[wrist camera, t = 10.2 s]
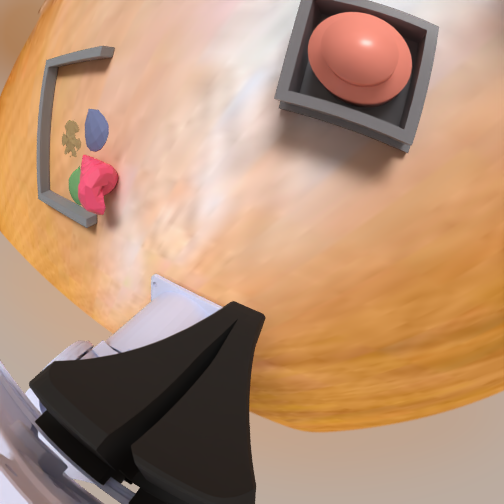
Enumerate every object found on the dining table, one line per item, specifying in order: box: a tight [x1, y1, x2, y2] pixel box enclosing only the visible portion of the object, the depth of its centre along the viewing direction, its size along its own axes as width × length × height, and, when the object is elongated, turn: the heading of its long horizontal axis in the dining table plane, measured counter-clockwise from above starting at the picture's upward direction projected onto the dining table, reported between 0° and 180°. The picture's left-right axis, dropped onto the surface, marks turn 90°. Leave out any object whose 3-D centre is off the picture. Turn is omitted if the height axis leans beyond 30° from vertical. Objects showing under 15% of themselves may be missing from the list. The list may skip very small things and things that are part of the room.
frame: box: [37, 46, 114, 228], centre depth 22 cm, size 18×12×2 cm, turn 166°
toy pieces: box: [62, 109, 118, 215], centre depth 21 cm, size 12×11×4 cm
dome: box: [308, 12, 412, 107], centre depth 10 cm, size 5×5×3 cm
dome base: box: [274, 0, 439, 153], centre depth 11 cm, size 8×8×3 cm
